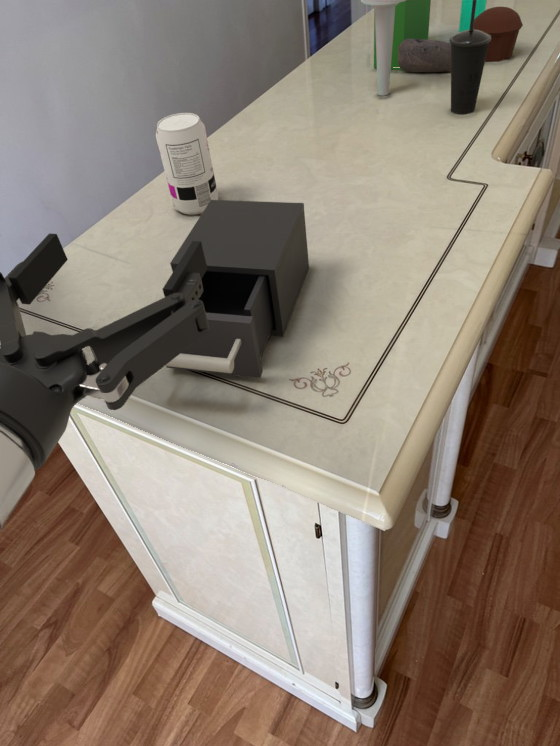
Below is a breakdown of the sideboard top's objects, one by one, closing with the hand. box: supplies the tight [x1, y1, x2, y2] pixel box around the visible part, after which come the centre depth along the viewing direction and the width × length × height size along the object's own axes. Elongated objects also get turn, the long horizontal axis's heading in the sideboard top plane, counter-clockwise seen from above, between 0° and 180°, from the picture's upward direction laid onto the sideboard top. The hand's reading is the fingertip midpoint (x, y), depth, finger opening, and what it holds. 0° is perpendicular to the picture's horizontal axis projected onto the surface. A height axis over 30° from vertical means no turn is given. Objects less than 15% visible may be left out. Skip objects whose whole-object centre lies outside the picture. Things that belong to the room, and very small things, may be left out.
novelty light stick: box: [360, 0, 406, 97], centre depth 125 cm, size 10×10×25 cm
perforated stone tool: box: [398, 38, 451, 73], centre depth 138 cm, size 15×5×7 cm, turn 70°
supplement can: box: [155, 112, 220, 216], centre depth 101 cm, size 8×8×15 cm
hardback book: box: [373, 0, 432, 71], centre depth 141 cm, size 18×7×24 cm, turn 150°
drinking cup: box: [449, 0, 491, 115], centre depth 116 cm, size 8×8×20 cm
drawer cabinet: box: [169, 199, 310, 337], centre depth 82 cm, size 16×14×11 cm
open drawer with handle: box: [164, 271, 275, 379], centre depth 74 cm, size 20×13×9 cm, turn 166°
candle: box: [458, 0, 487, 33], centre depth 149 cm, size 6×6×12 cm
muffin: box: [473, 6, 523, 63], centre depth 140 cm, size 12×11×10 cm
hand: (127, 250), depth 51 cm, fingers open, 13 cm apart
